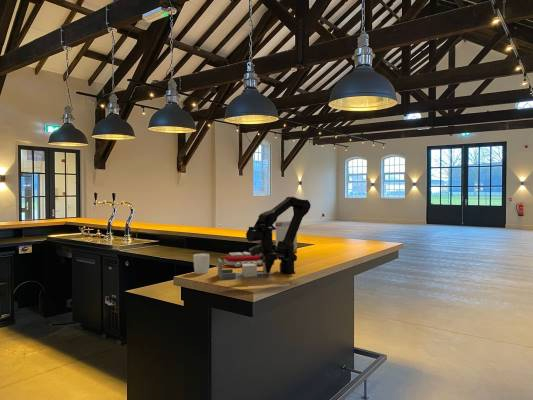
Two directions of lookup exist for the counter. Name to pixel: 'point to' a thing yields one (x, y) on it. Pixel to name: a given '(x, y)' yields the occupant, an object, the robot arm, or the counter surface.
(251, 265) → the rod-linked cube pair
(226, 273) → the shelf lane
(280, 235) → the cracker box
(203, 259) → the white cup
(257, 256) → the word lettering
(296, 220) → the robot arm
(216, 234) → the counter surface
